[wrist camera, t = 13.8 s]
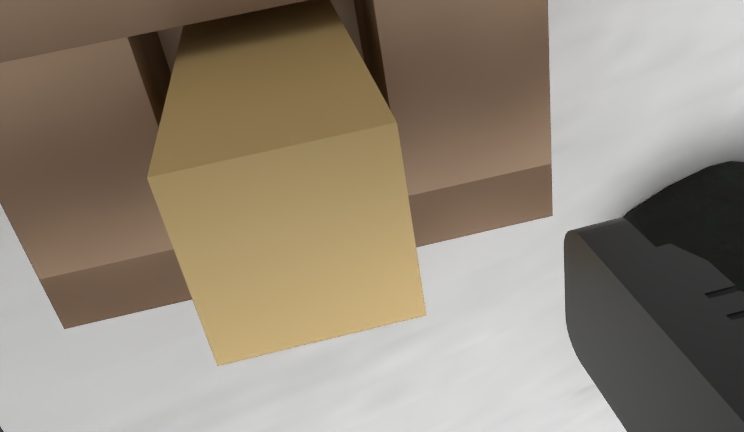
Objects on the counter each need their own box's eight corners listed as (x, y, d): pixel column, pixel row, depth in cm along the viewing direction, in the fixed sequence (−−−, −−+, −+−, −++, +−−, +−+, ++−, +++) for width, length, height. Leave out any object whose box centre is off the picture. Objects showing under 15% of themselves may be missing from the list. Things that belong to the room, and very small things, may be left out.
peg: (324, -10, 19) (397, 122, 11) (349, 119, 22) (426, 315, 13) (184, 19, 19) (146, 177, 11) (223, 147, 21) (217, 366, 13)
